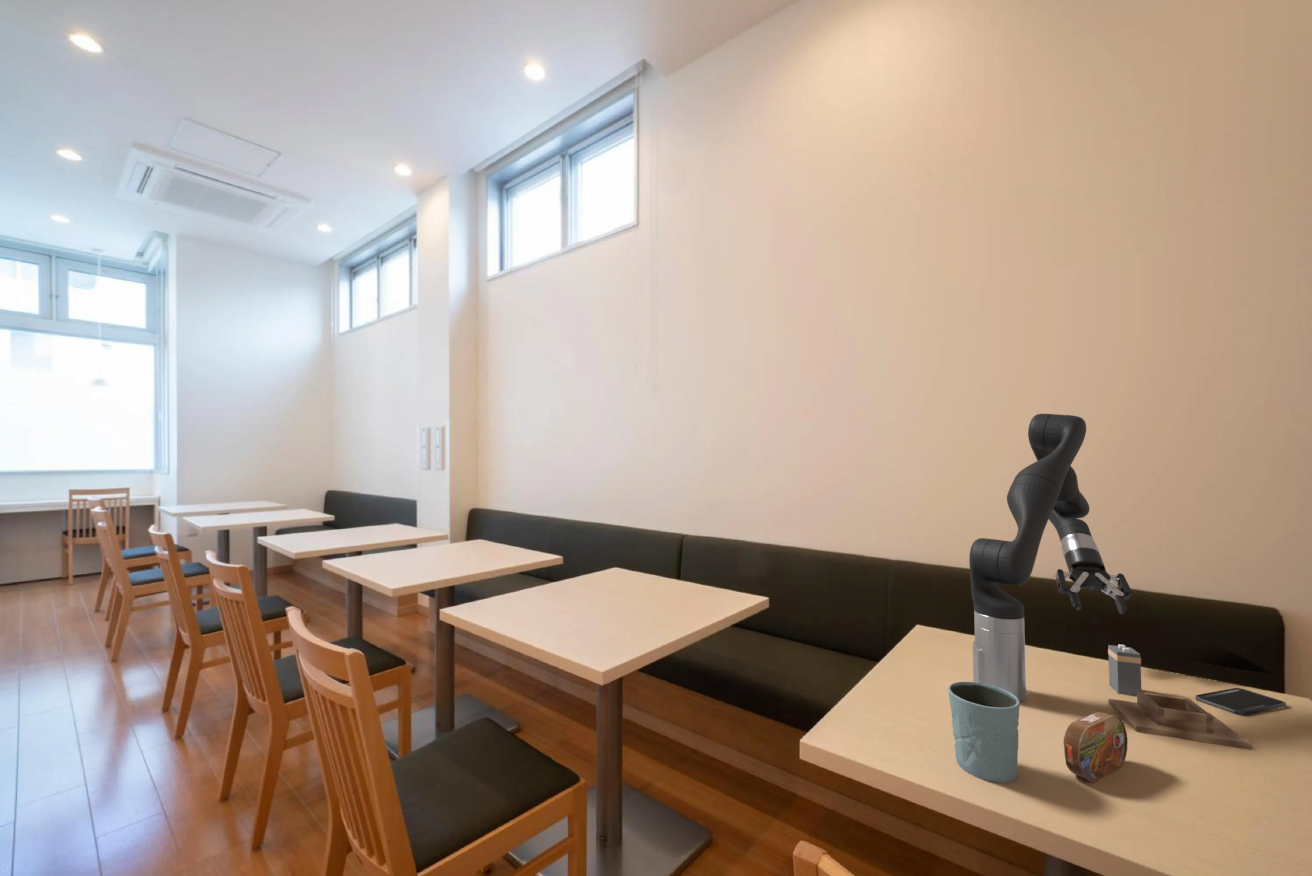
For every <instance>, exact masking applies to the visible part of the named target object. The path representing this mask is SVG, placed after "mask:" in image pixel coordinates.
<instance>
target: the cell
mask: <svg viewBox="0 0 1312 876" xmlns="http://www.w3.org/2000/svg"><path fill="white" fill-rule="evenodd" d="M1107 646H1108V648H1107V654H1108V675H1109V678H1108V679H1109V681H1108V683H1109V684H1108V685H1109V686H1110V687H1111V688H1112V689H1113V690H1114V691H1115V692H1116V693H1117V694H1119V695H1120V694H1121V695H1126V696H1127V695H1128V696H1133V697H1137V691H1139V692H1142V666H1141V665H1142V658H1141V653H1140V652H1137V651H1136V650H1135V649H1134V648H1132V647H1130V646H1126V645H1125V644H1118V645H1113V644H1111V645H1110V644H1108V645H1107Z"/></svg>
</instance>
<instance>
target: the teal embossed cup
mask: <svg viewBox="0 0 1312 876" xmlns="http://www.w3.org/2000/svg"><path fill="white" fill-rule="evenodd" d="M947 690H948V691H947V692H948V698H949V705H950V713H951V719H952V720H951V724H952V732H953V733H952V734H953V737H954V741H955V742H954V751H955V759H956V762H957V765H958V766H959V767H960V768H961V769H962V770H964V772H966V773H967V774H969V775H971V776H973V777H976V778H977V779H981V780H983V781H987V782H992V783H1001V784H1002V783H1003V784H1005V783H1006V784H1008V783H1012V782H1014V781H1015V780H1016V779H1017V775H1018V764H1019V763H1018V756H1019V754H1018V753H1019V752H1018V751H1019V729H1018V726H1019V718H1020V702H1021V701H1020V702H1019V700H1018V698H1017V697H1016V696H1015V695H1013V694H1012V693H1010V692H1008V691H1006V690H1003V689H1001V688H999V687H996V686H992V685H988V684H983V683H977V682H973V681H958V682H954V683H951V684H950V685H948V688H947Z"/></svg>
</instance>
